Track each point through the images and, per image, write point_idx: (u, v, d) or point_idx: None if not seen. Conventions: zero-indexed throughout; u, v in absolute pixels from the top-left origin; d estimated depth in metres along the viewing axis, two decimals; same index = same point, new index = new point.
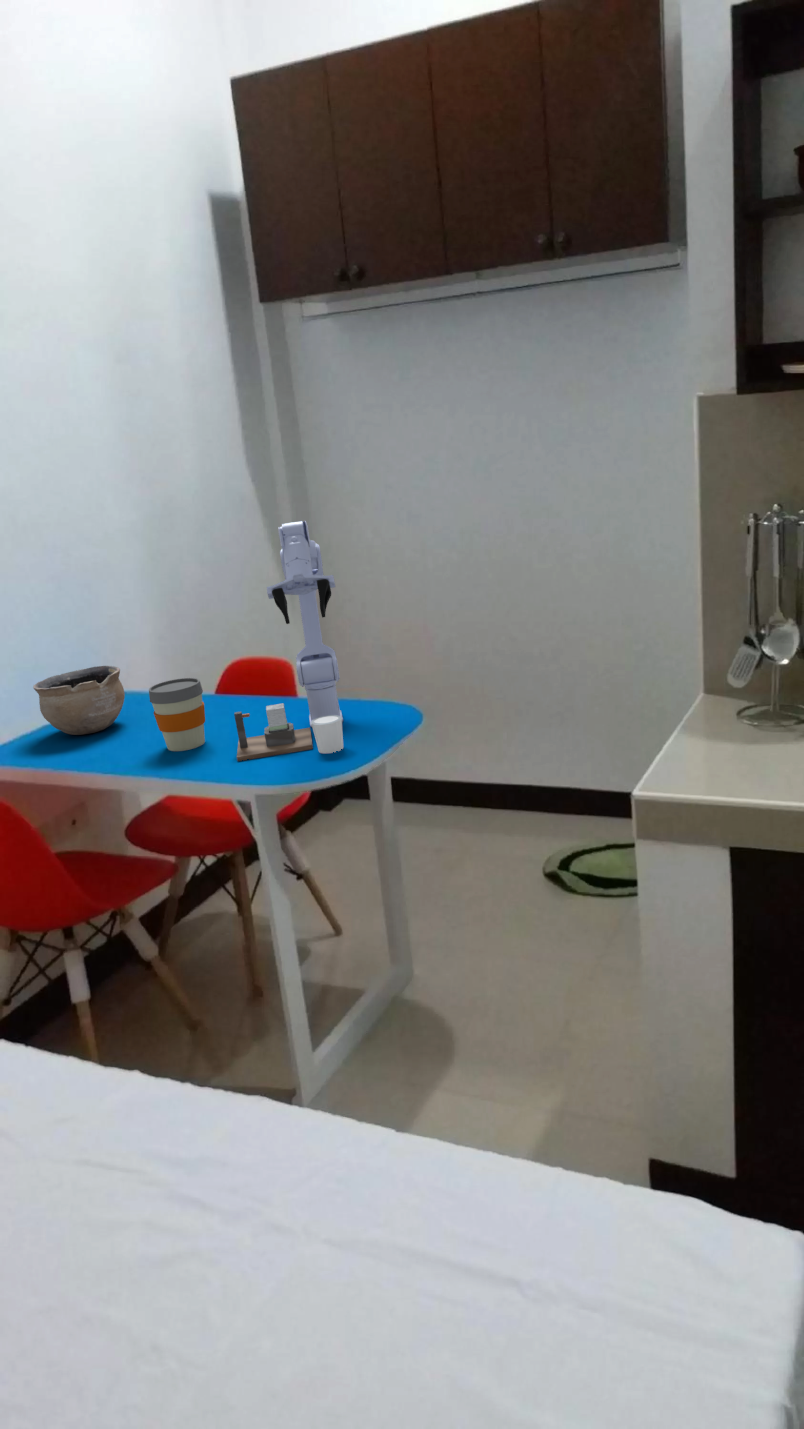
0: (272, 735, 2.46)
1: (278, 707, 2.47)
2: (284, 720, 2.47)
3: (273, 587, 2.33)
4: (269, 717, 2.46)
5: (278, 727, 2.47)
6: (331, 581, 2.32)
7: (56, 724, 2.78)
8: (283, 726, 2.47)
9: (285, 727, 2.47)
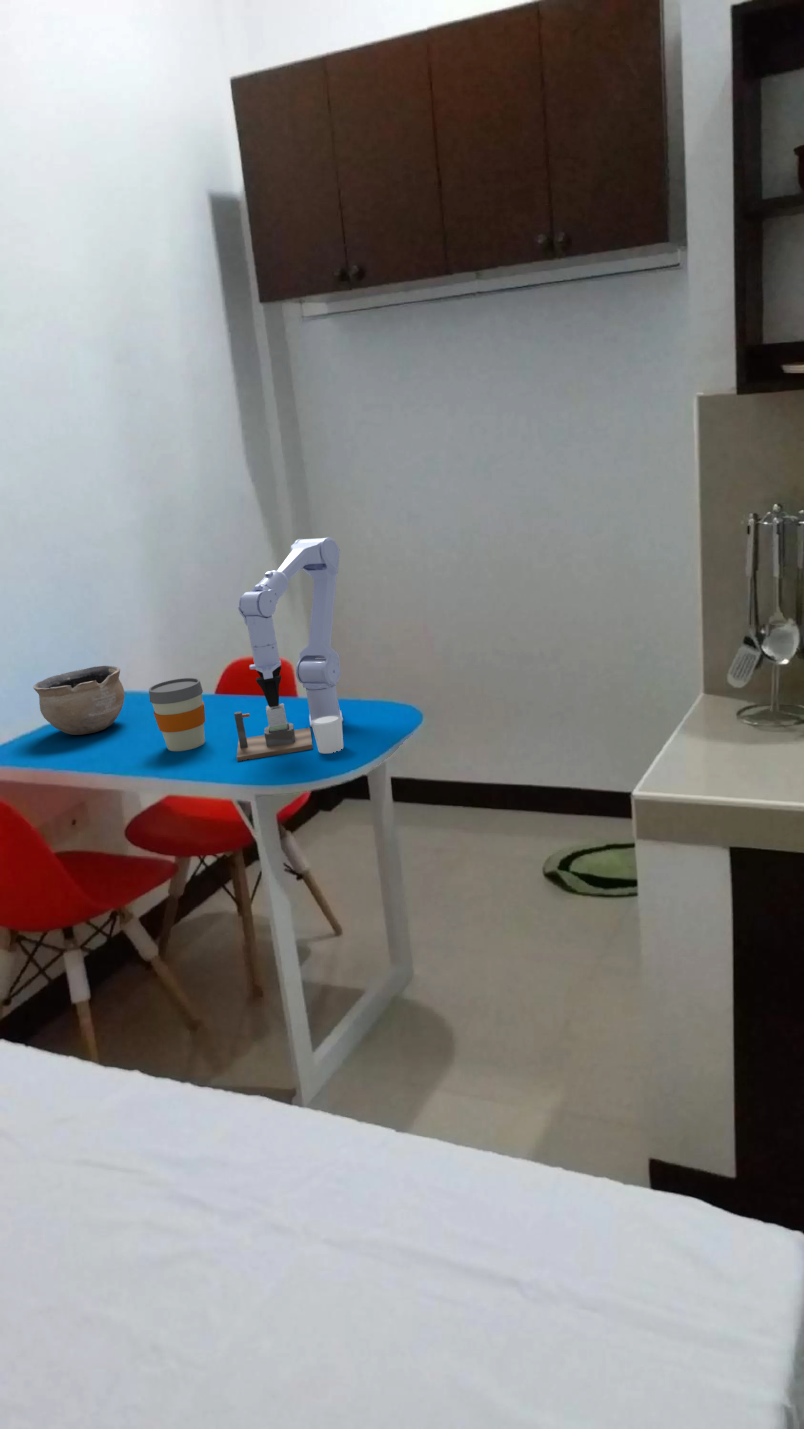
0: (272, 735, 2.46)
1: (278, 707, 2.47)
2: (284, 720, 2.47)
3: None
4: (269, 717, 2.46)
5: (278, 727, 2.47)
6: (263, 677, 2.39)
7: (56, 724, 2.78)
8: (283, 726, 2.47)
9: (285, 727, 2.47)
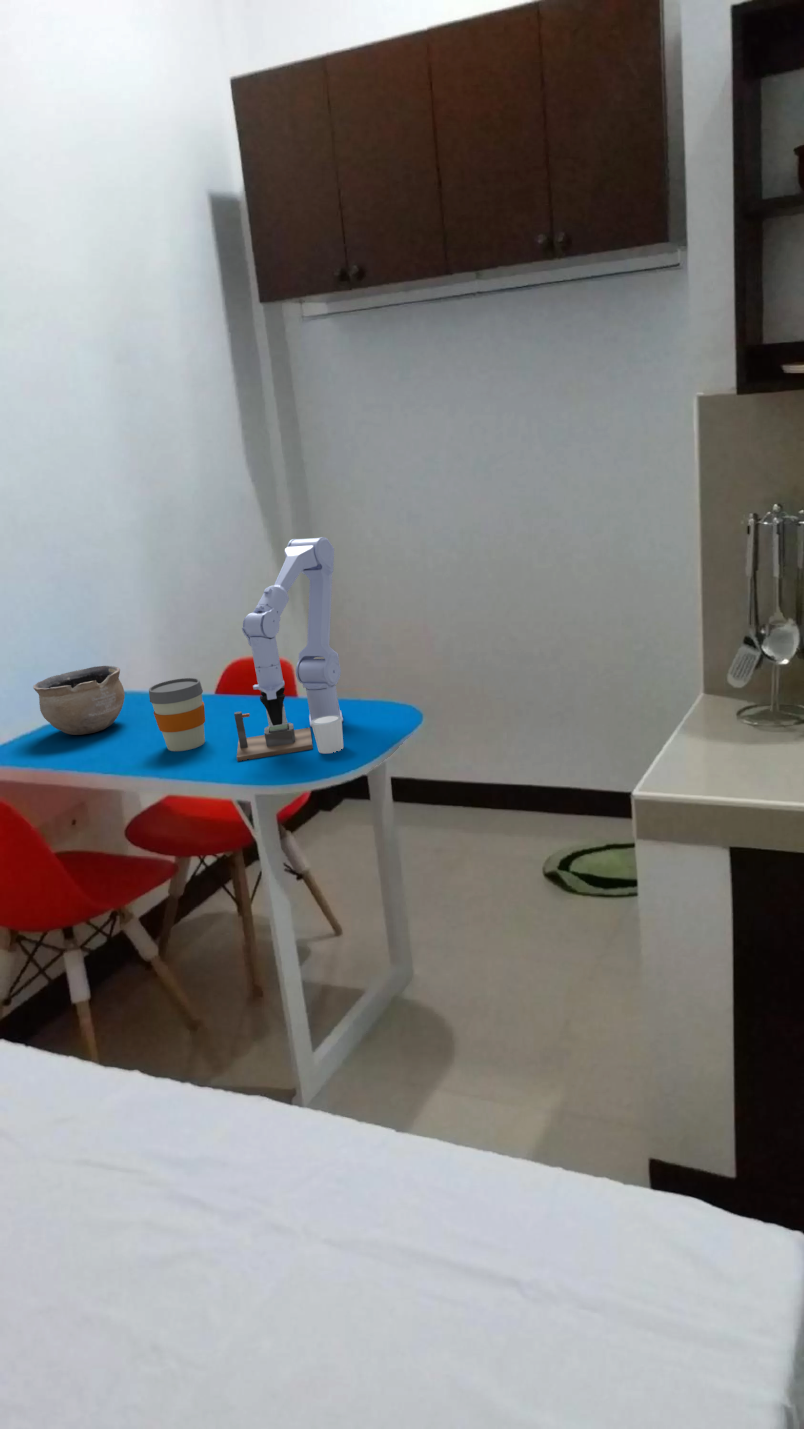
0: (272, 735, 2.46)
1: None
2: (284, 720, 2.47)
3: None
4: (269, 717, 2.46)
5: (278, 727, 2.47)
6: (267, 698, 2.40)
7: (56, 724, 2.78)
8: (283, 726, 2.47)
9: (285, 727, 2.47)
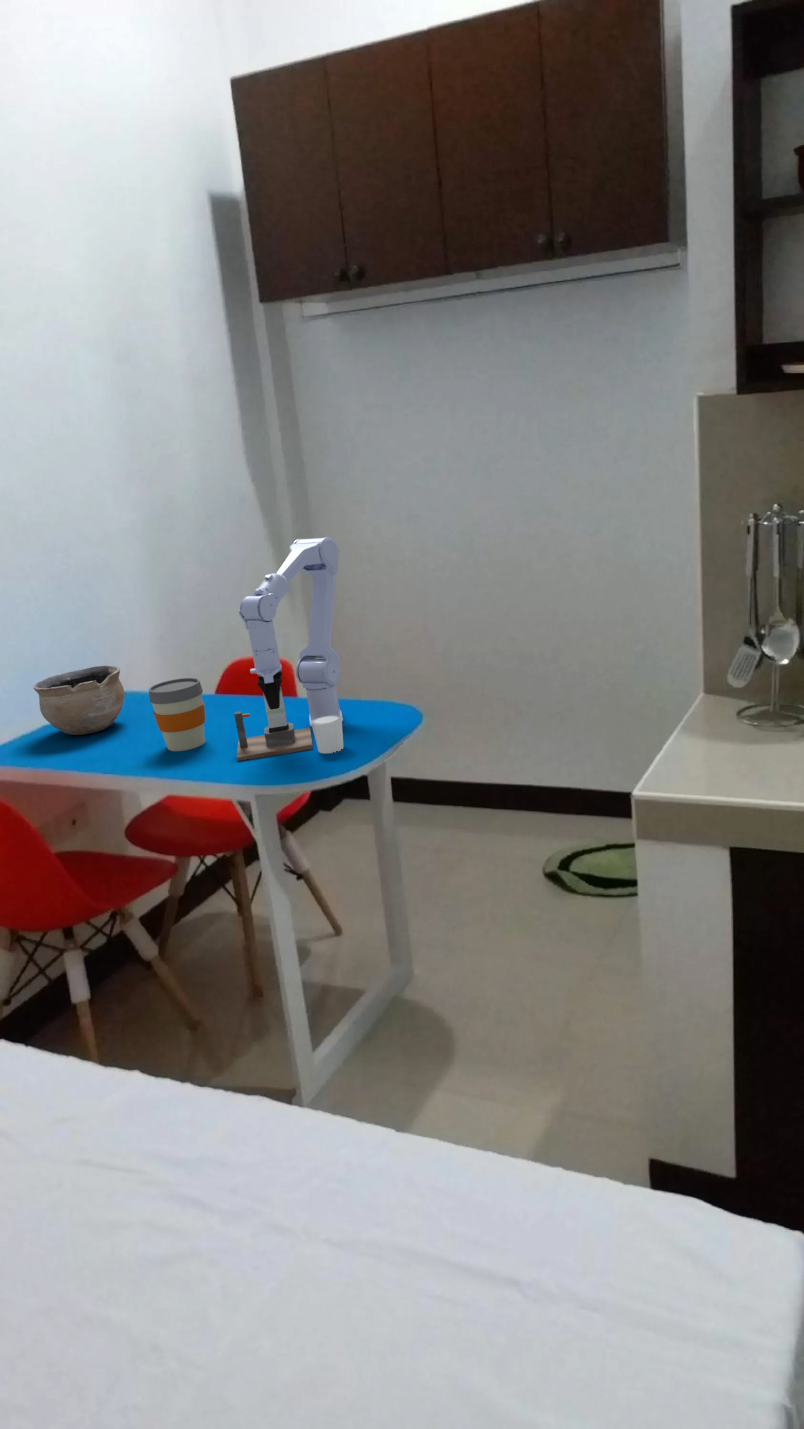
0: (272, 735, 2.46)
1: None
2: (281, 704, 2.46)
3: None
4: (266, 701, 2.45)
5: (275, 711, 2.46)
6: (264, 682, 2.39)
7: (56, 724, 2.78)
8: (280, 710, 2.46)
9: (282, 711, 2.46)
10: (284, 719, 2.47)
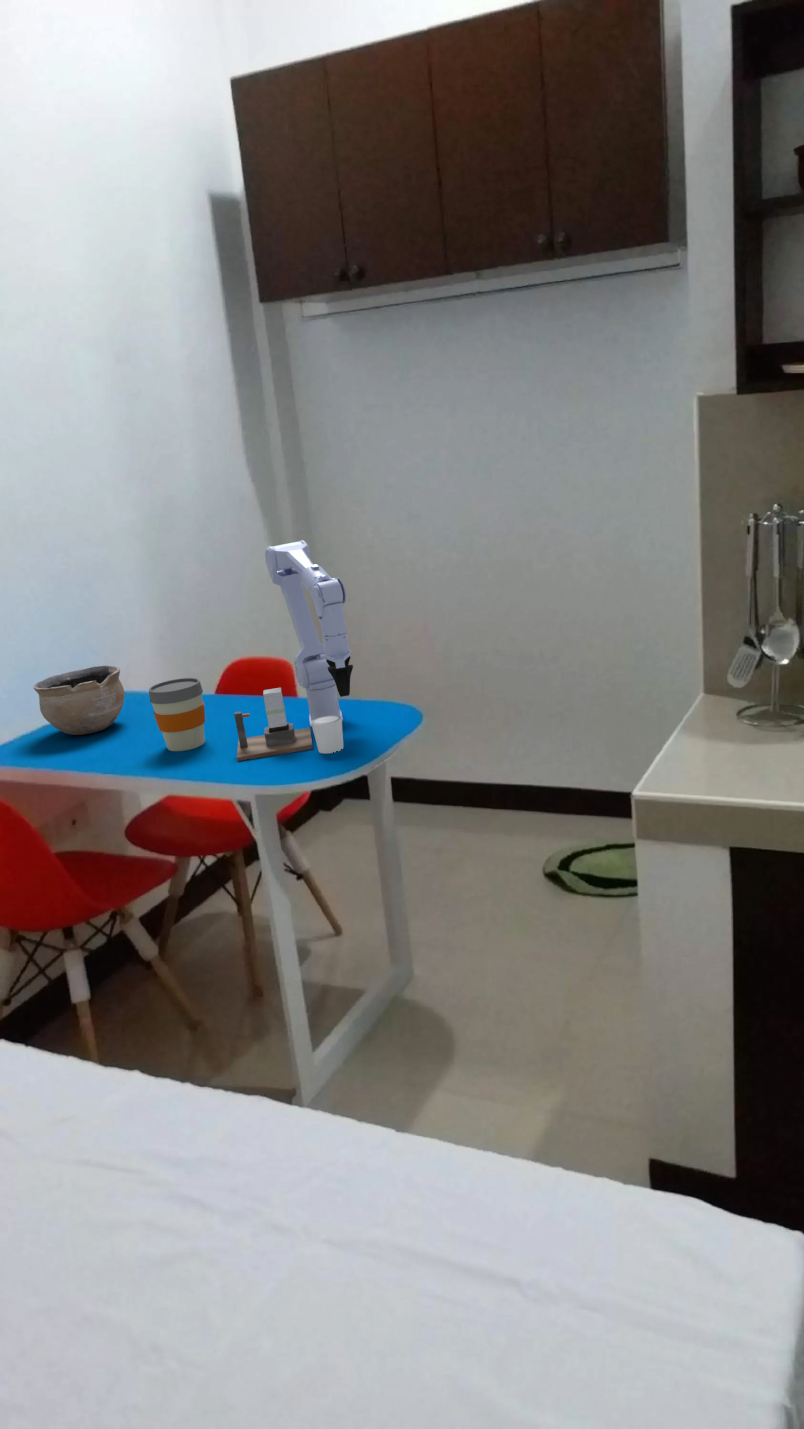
0: (272, 735, 2.46)
1: (275, 691, 2.46)
2: (281, 704, 2.46)
3: None
4: (266, 701, 2.45)
5: (275, 711, 2.46)
6: (336, 667, 2.39)
7: (56, 724, 2.78)
8: (280, 710, 2.46)
9: (282, 711, 2.46)
10: (284, 719, 2.47)
